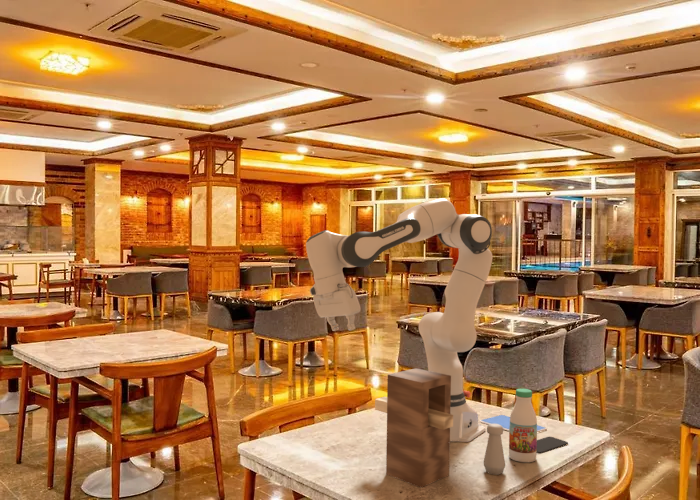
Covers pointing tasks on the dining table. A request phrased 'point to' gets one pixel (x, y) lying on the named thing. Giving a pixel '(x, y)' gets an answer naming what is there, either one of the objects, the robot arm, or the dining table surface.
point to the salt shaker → (494, 450)
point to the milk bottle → (523, 428)
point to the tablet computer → (504, 422)
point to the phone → (549, 444)
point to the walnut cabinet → (417, 426)
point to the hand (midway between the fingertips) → (343, 330)
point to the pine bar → (434, 416)
